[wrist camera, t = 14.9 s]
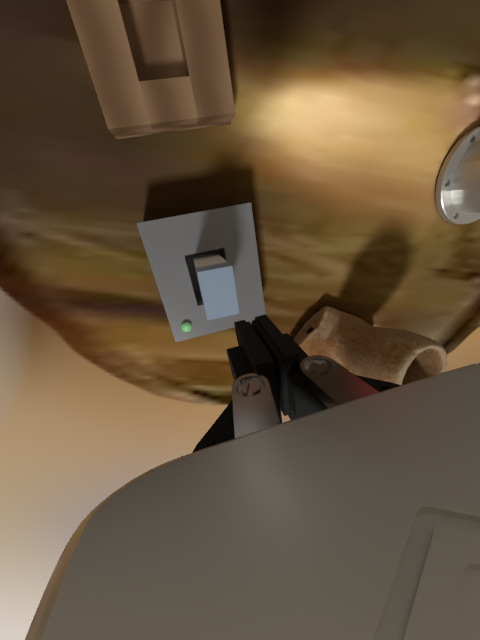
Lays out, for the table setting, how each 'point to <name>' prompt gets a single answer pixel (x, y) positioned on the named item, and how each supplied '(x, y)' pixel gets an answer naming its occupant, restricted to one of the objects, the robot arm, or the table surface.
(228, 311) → the plug
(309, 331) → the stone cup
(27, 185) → the table surface
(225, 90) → the slotted socket block
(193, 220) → the port block
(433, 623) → the robot arm
